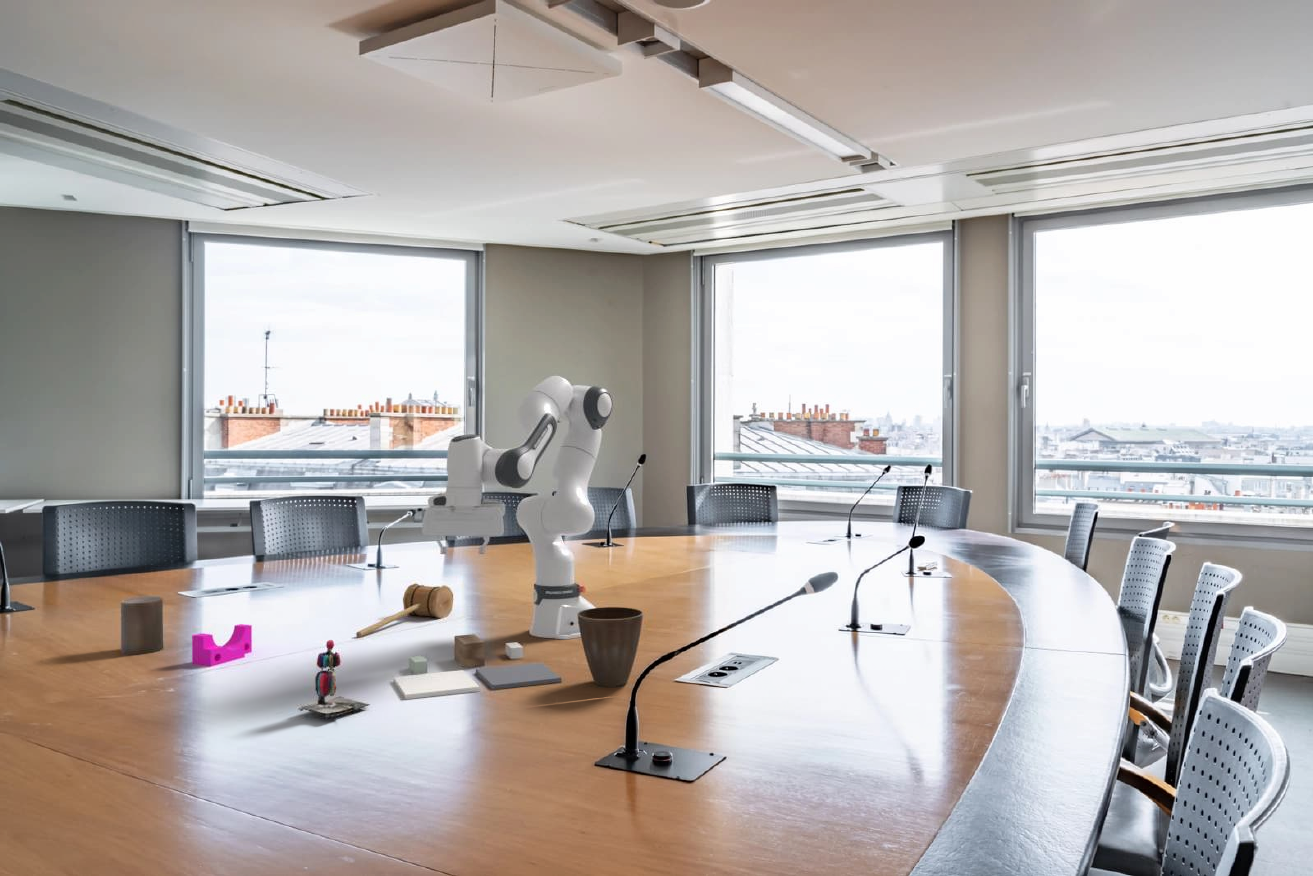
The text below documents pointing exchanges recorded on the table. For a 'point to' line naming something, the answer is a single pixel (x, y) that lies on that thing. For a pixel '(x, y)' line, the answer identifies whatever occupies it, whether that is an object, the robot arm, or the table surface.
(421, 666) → the sage brick
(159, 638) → the pillar candle
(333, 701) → the statue
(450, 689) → the off-white mat
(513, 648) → the pale grey brick
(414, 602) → the mallet
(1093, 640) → the table surface
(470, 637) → the walnut brick
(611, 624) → the plant pot
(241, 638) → the magenta cradle bracket
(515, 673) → the charcoal mat
